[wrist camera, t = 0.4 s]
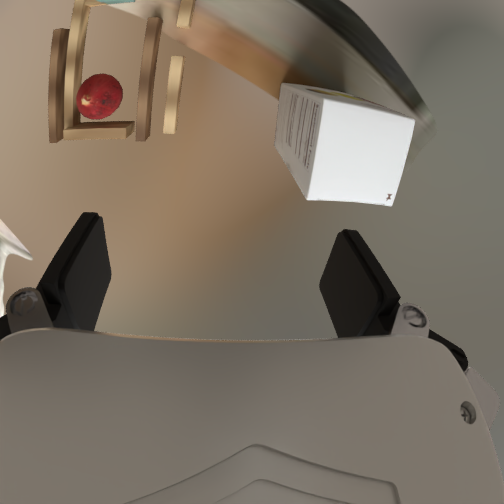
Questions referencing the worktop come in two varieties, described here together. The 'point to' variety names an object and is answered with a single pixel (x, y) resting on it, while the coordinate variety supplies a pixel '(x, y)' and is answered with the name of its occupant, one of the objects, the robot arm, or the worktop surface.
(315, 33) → the worktop surface
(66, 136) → the tan frame
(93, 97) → the onion
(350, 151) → the supplement box
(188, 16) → the broken strip
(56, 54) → the lane rails
